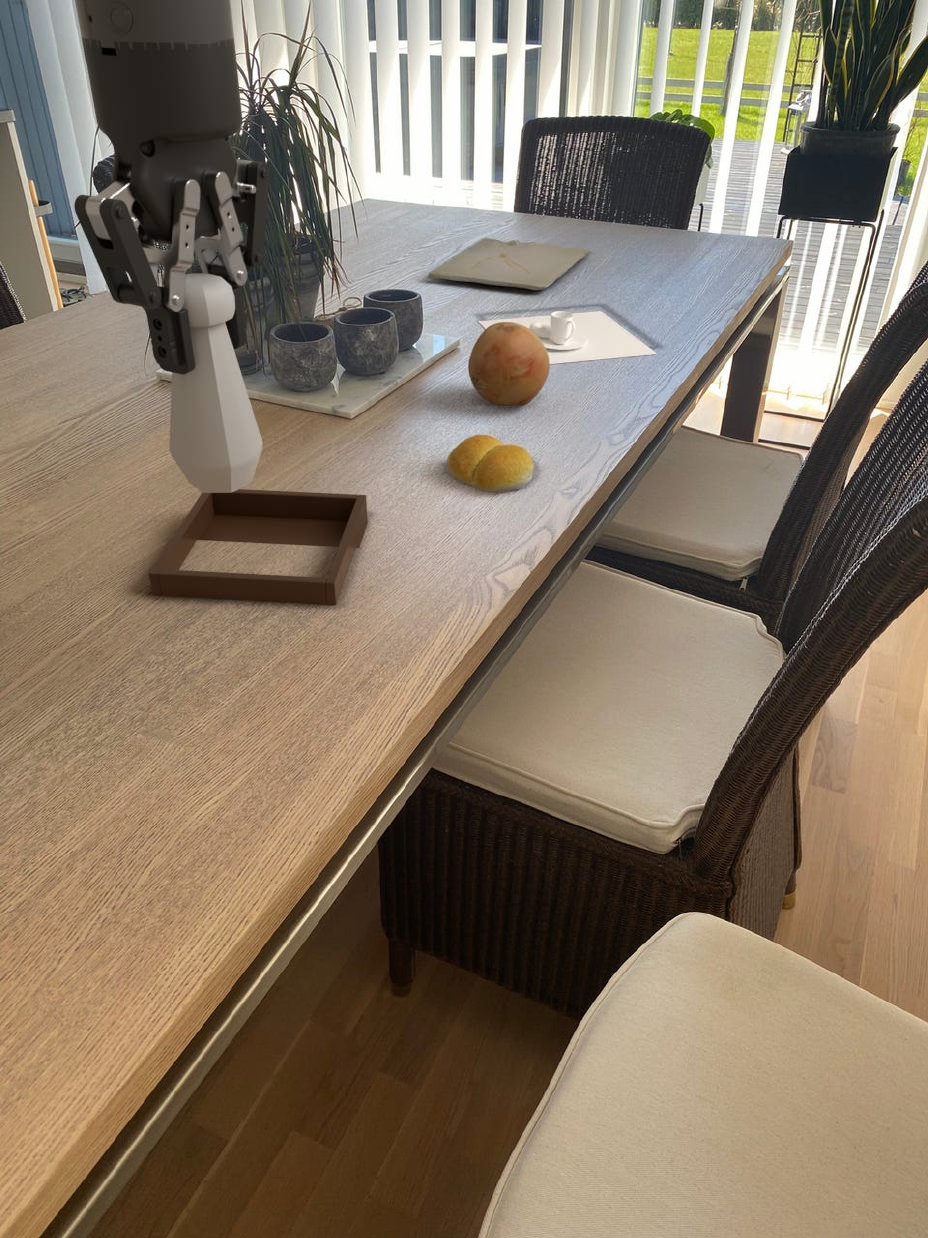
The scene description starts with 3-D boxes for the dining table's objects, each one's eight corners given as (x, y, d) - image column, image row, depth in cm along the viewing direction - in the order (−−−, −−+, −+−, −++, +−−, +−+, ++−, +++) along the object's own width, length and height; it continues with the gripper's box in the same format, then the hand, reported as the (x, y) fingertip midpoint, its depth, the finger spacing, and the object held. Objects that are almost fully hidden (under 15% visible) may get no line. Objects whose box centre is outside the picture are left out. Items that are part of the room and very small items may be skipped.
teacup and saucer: (521, 334, 138) (523, 306, 135) (573, 330, 140) (575, 302, 137) (542, 355, 131) (544, 325, 128) (596, 350, 133) (598, 320, 130)
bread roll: (505, 503, 95) (506, 467, 93) (435, 478, 100) (435, 443, 97) (550, 474, 101) (552, 439, 98) (482, 452, 105) (483, 418, 103)
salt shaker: (161, 494, 61) (123, 288, 53) (197, 456, 65) (167, 262, 58) (248, 503, 60) (222, 295, 53) (278, 464, 65) (258, 268, 57)
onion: (564, 404, 117) (570, 323, 111) (508, 427, 111) (511, 342, 105) (507, 383, 122) (509, 305, 116) (451, 403, 116) (451, 322, 111)
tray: (154, 604, 80) (148, 573, 78) (210, 515, 93) (205, 487, 91) (337, 614, 79) (334, 583, 77) (367, 523, 92) (366, 494, 90)
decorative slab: (479, 246, 180) (480, 235, 179) (589, 256, 174) (590, 245, 173) (427, 284, 159) (427, 271, 158) (549, 297, 153) (550, 285, 152)
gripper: (190, 20, 55) (226, 317, 65) (-9, 32, 44) (71, 385, 54) (299, 26, 52) (319, 334, 62) (115, 41, 42) (176, 410, 51)
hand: (203, 356), depth 58 cm, fingers closed on salt shaker, 4 cm apart
